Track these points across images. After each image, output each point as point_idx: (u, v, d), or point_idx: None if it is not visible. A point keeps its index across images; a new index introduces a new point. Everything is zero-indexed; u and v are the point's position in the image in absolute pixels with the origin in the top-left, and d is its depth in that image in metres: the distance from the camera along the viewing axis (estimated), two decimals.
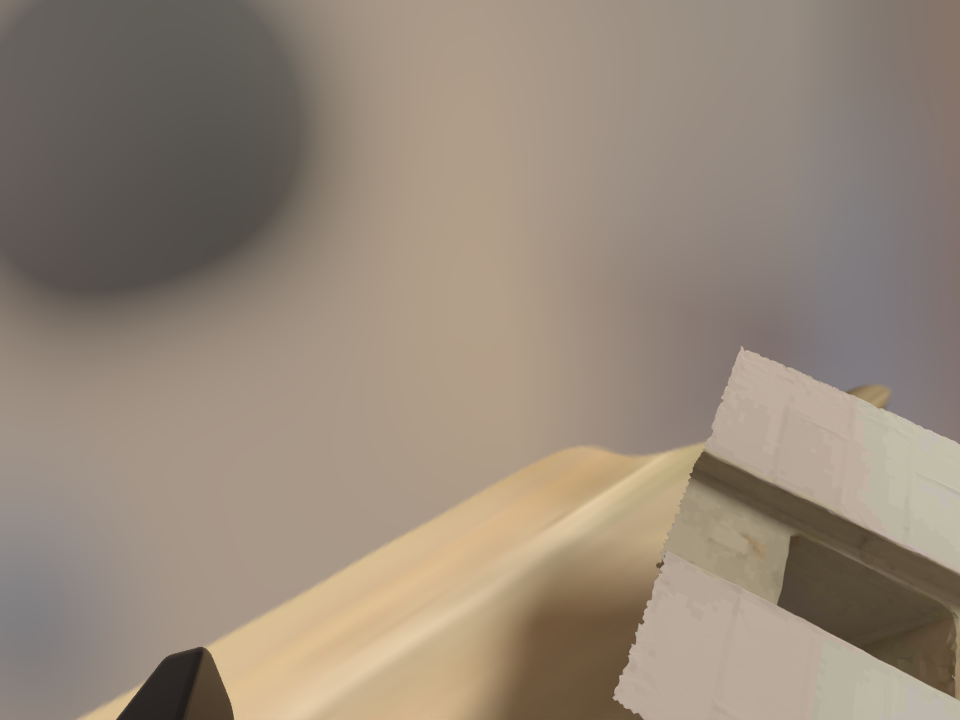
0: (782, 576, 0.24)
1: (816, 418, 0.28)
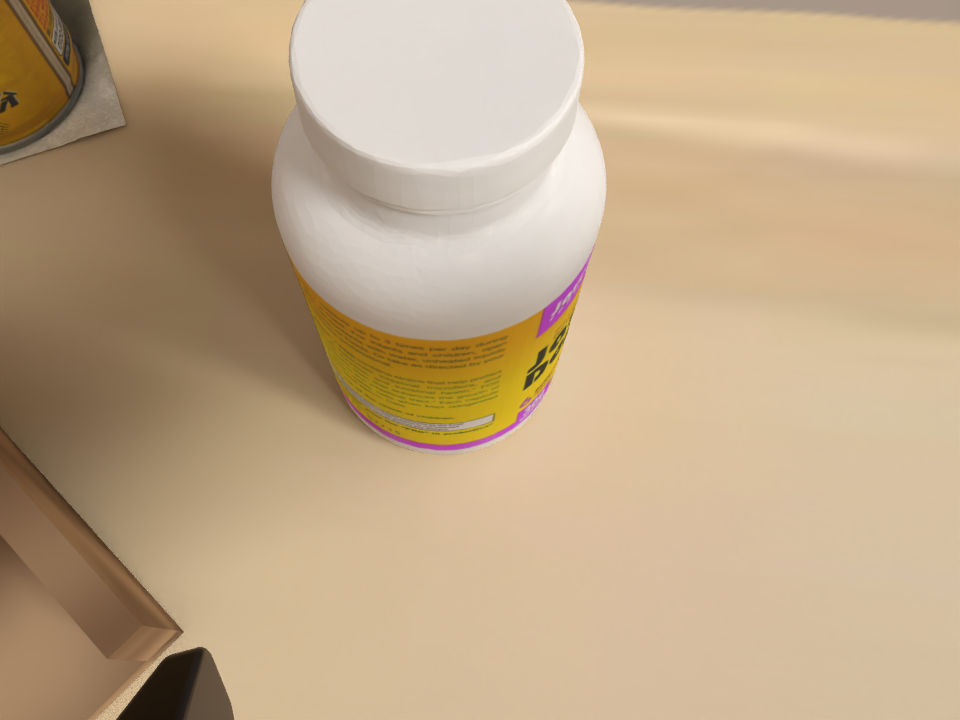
0: None
1: None
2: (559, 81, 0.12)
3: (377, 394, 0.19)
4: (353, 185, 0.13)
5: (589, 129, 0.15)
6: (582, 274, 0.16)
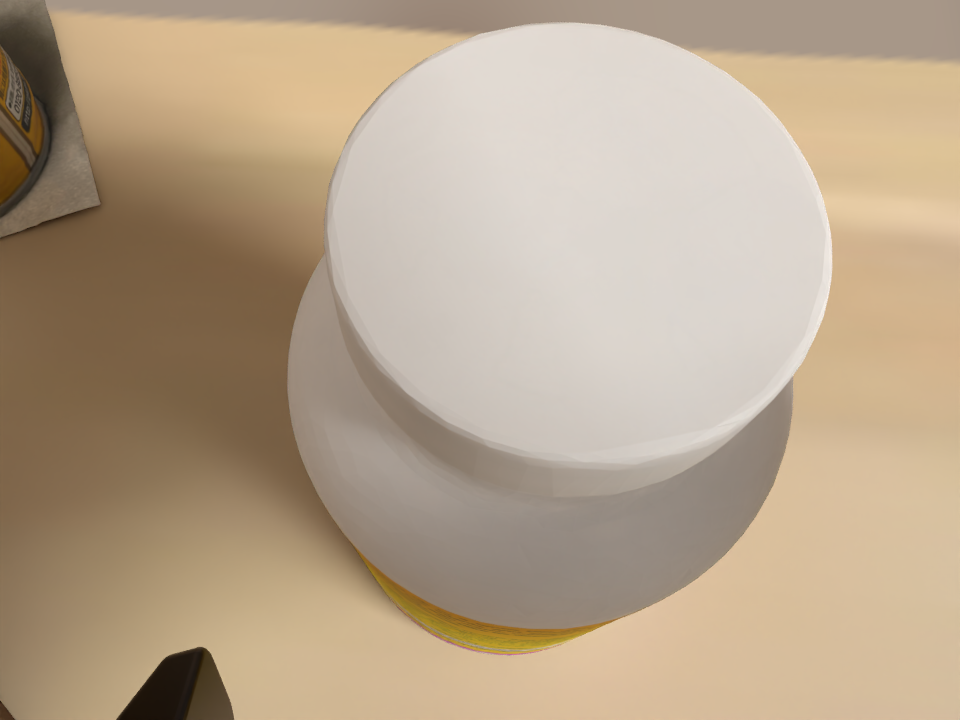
0: None
1: None
2: (797, 284, 0.07)
3: (430, 623, 0.14)
4: (433, 452, 0.07)
5: None
6: None
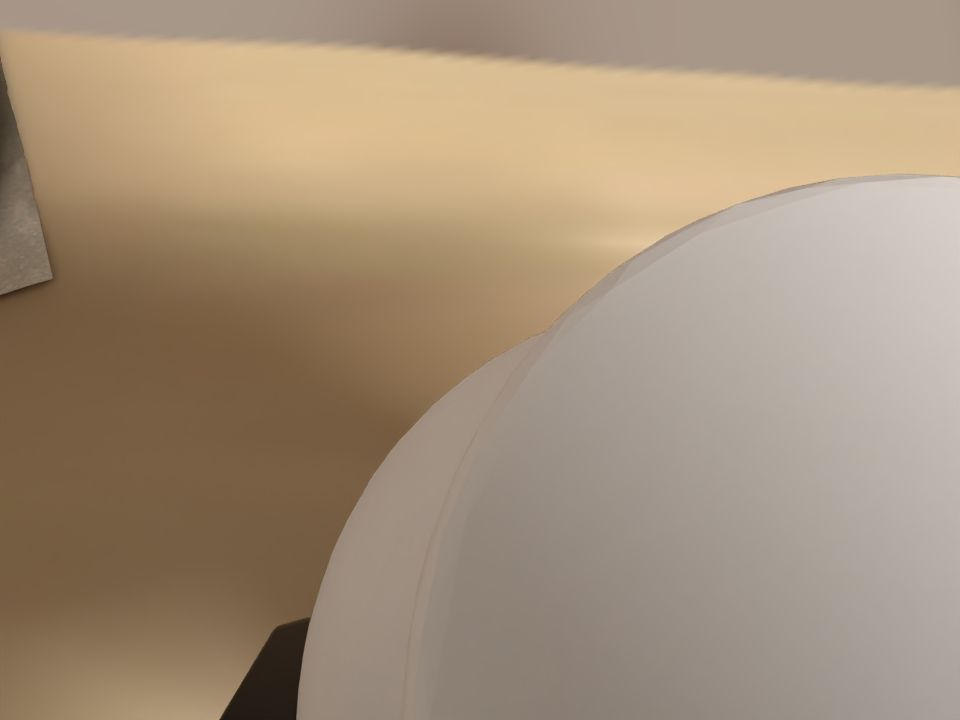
0: None
1: None
2: None
3: None
4: None
5: None
6: None
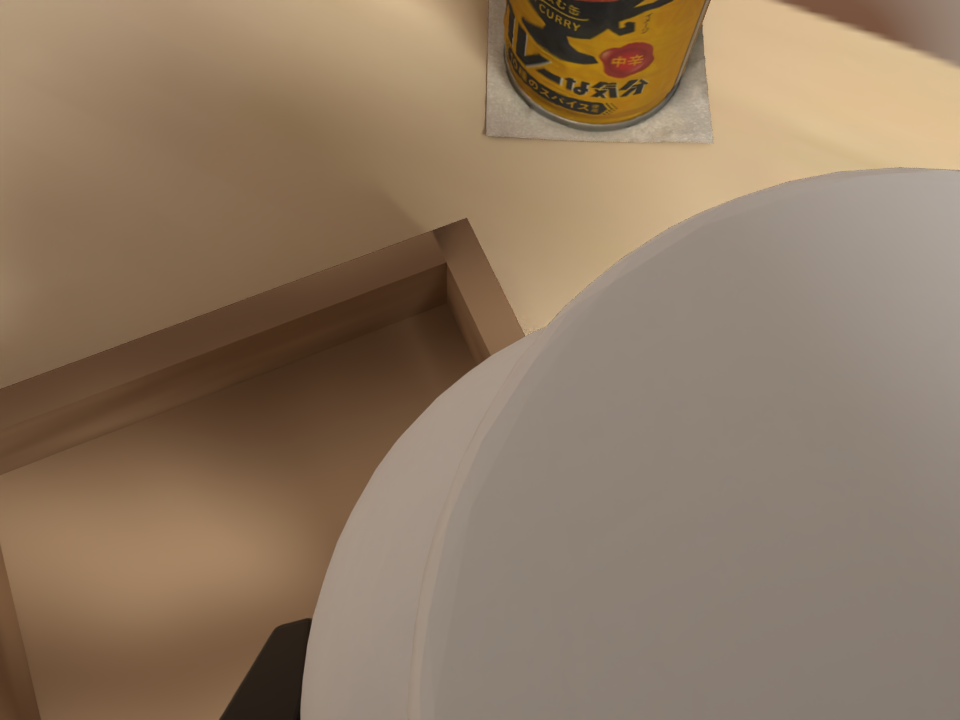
0: None
1: None
2: None
3: None
4: None
5: None
6: None
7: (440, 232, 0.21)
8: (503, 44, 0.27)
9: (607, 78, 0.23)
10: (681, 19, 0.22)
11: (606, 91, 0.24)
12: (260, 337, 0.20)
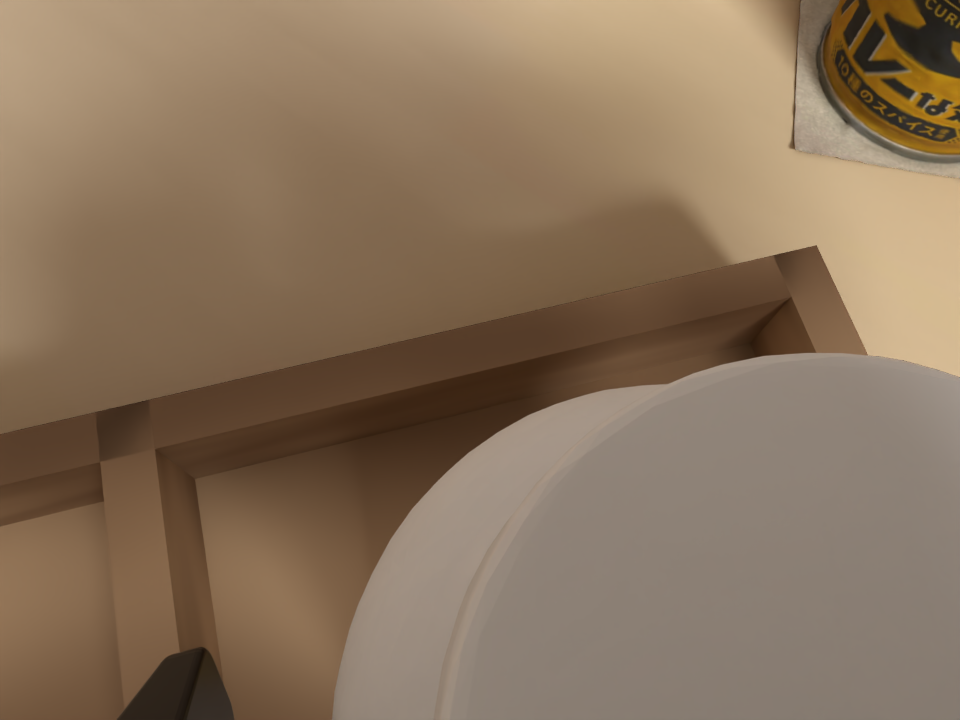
0: None
1: None
2: None
3: None
4: None
5: None
6: None
7: (784, 259, 0.17)
8: (815, 46, 0.23)
9: None
10: None
11: None
12: (557, 357, 0.16)
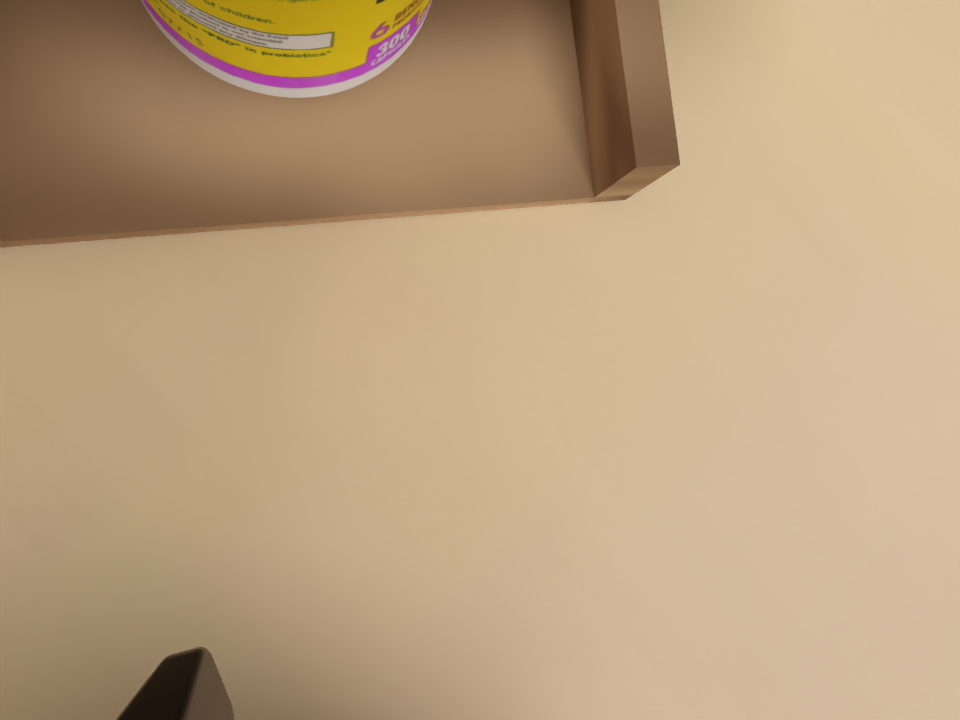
0: None
1: None
2: None
3: None
4: None
5: None
6: None
7: None
8: None
9: None
10: None
11: None
12: None
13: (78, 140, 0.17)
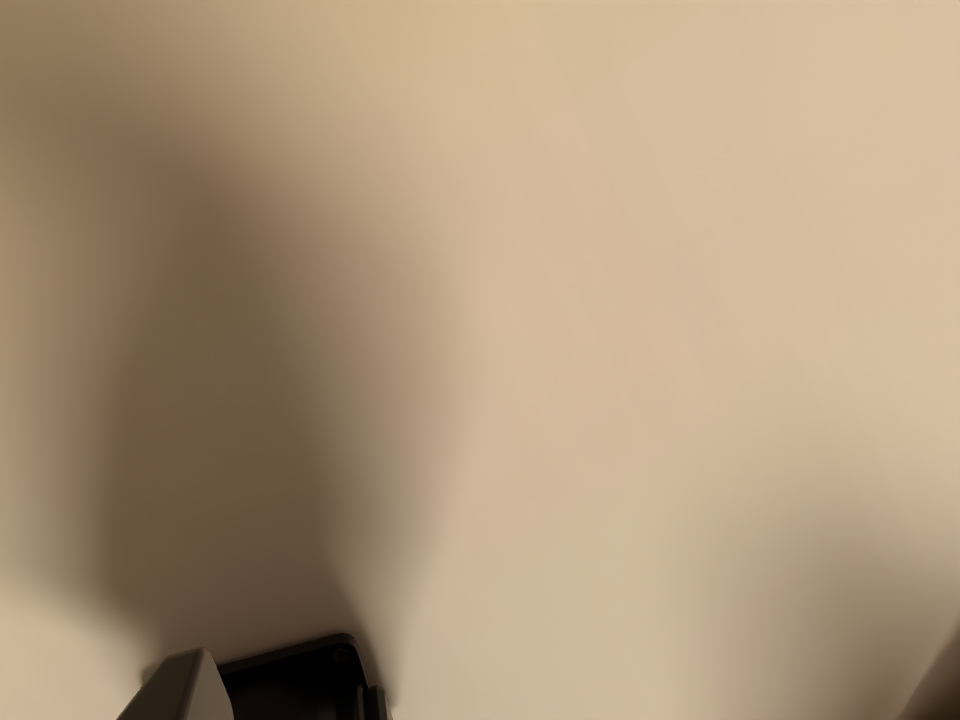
0: None
1: None
2: None
3: None
4: None
5: None
6: None
7: None
8: None
9: None
10: None
11: None
12: None
13: None
